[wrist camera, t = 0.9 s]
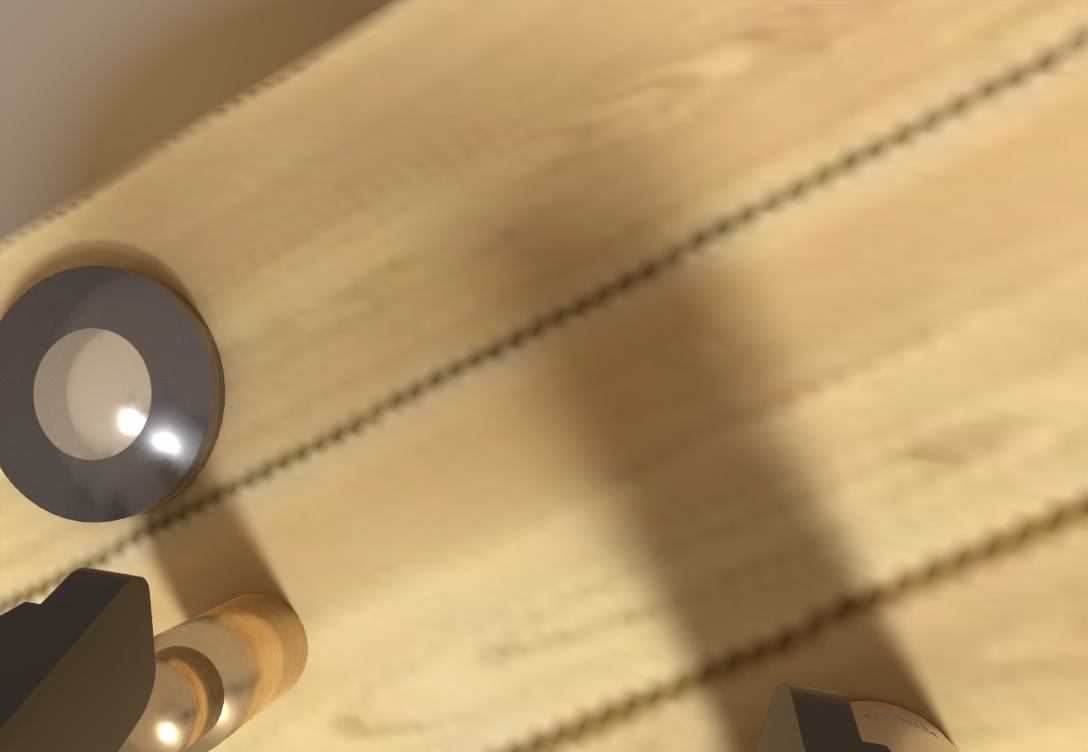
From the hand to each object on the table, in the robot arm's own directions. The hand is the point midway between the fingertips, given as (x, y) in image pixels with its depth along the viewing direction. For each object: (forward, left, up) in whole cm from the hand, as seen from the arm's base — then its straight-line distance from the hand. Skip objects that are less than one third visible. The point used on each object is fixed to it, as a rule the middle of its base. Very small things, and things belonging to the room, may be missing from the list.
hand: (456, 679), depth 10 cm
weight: (-12, +19, -32) cm, 39 cm away
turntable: (+1, +29, -32) cm, 43 cm away
